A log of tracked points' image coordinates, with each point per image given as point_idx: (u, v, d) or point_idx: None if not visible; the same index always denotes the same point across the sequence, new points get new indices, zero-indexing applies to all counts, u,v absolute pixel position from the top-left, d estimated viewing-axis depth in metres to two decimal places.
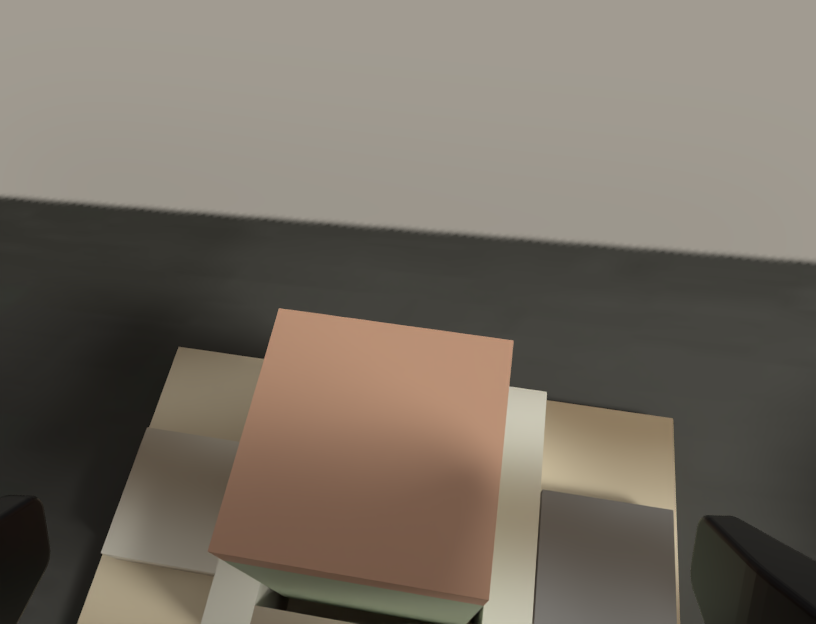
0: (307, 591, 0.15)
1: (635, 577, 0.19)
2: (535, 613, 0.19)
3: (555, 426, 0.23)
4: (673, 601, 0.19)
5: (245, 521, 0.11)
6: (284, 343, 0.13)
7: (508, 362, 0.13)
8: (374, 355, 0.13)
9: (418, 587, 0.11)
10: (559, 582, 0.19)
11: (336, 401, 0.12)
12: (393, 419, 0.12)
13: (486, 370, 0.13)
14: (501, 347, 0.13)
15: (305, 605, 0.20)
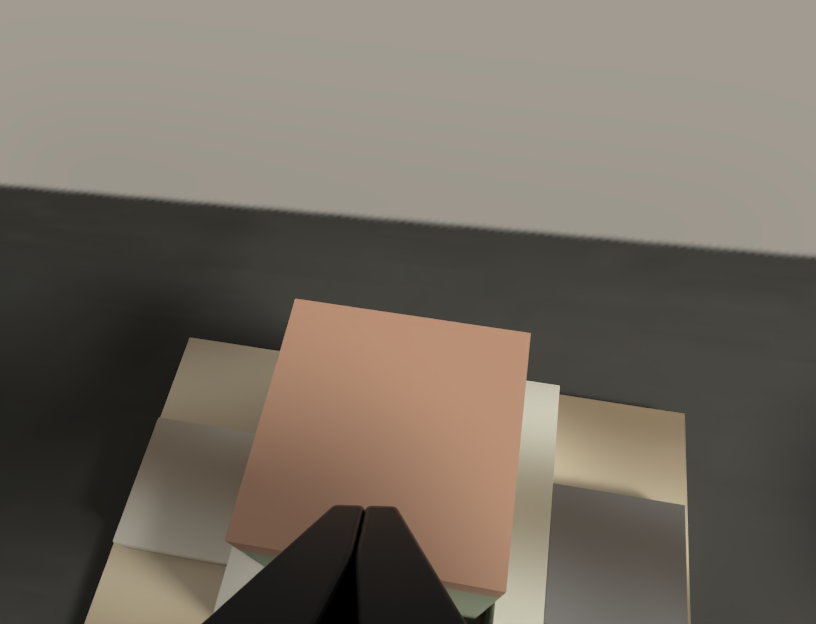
0: None
1: (646, 572, 0.19)
2: (545, 606, 0.19)
3: (566, 420, 0.23)
4: (684, 596, 0.19)
5: (262, 511, 0.11)
6: (300, 333, 0.13)
7: (525, 355, 0.13)
8: (391, 346, 0.13)
9: None
10: (570, 576, 0.19)
11: (353, 392, 0.12)
12: (410, 410, 0.12)
13: (503, 362, 0.13)
14: (518, 339, 0.13)
15: None
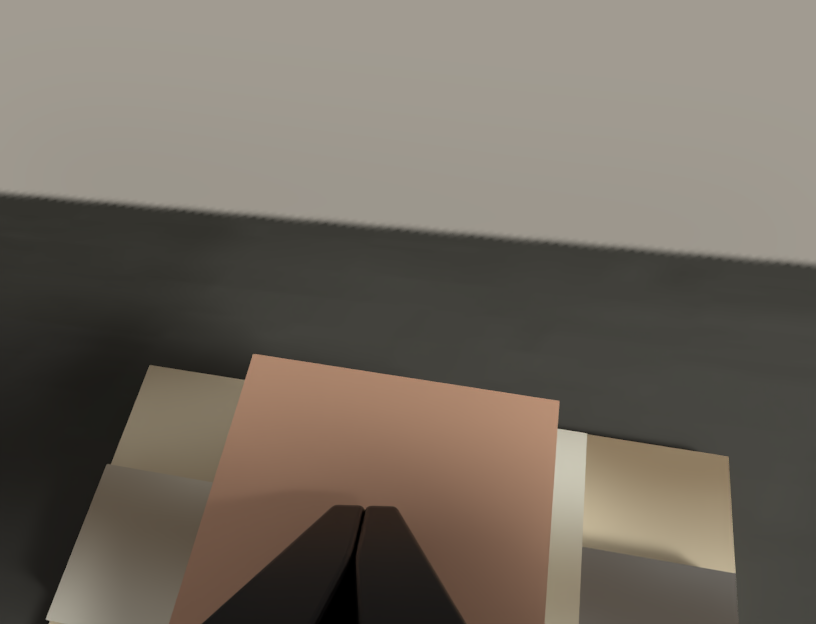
0: None
1: None
2: None
3: (589, 464, 0.19)
4: None
5: None
6: (259, 401, 0.10)
7: (553, 431, 0.10)
8: (376, 418, 0.10)
9: None
10: None
11: (325, 483, 0.09)
12: (401, 510, 0.09)
13: (524, 442, 0.10)
14: (543, 410, 0.10)
15: None
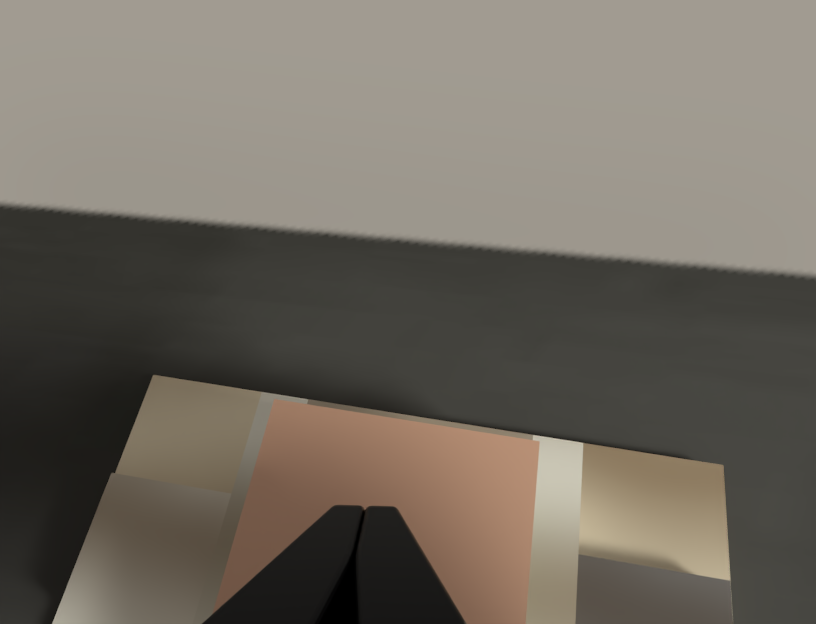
0: None
1: None
2: None
3: (586, 473, 0.20)
4: None
5: None
6: (279, 441, 0.12)
7: (534, 468, 0.11)
8: (381, 456, 0.11)
9: None
10: None
11: None
12: None
13: (509, 477, 0.11)
14: (526, 449, 0.11)
15: None
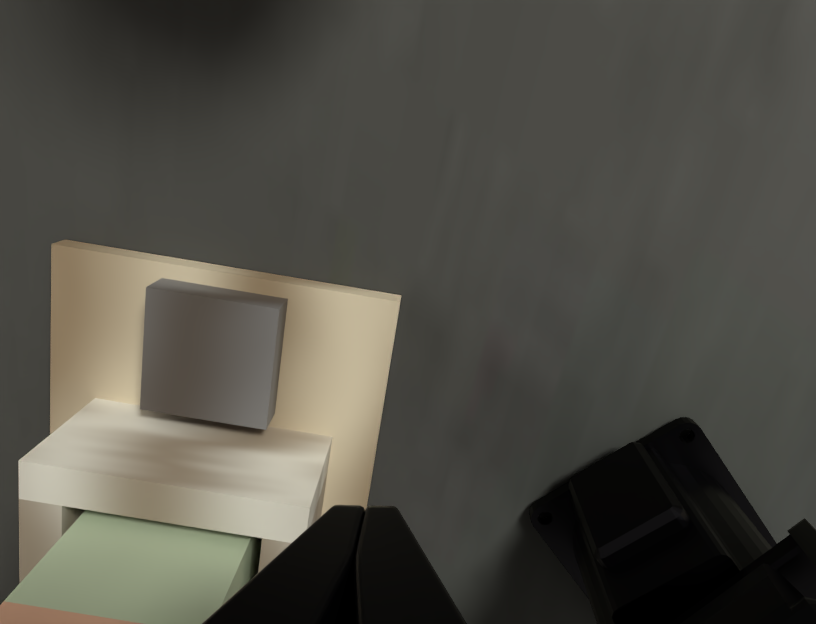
0: None
1: (214, 335, 0.20)
2: (252, 427, 0.21)
3: (78, 367, 0.22)
4: (233, 305, 0.19)
5: None
6: None
7: None
8: None
9: None
10: (224, 404, 0.20)
11: None
12: None
13: None
14: None
15: None
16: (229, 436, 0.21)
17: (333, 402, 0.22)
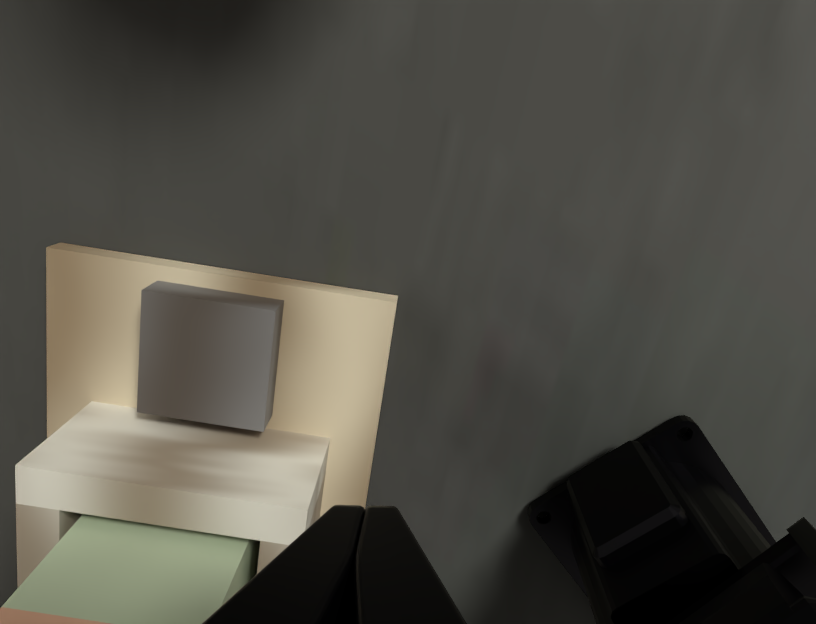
0: None
1: (210, 337, 0.20)
2: (250, 429, 0.21)
3: (74, 371, 0.21)
4: (229, 307, 0.19)
5: None
6: None
7: None
8: None
9: None
10: (221, 406, 0.20)
11: None
12: None
13: None
14: None
15: None
16: (226, 438, 0.21)
17: (330, 403, 0.22)
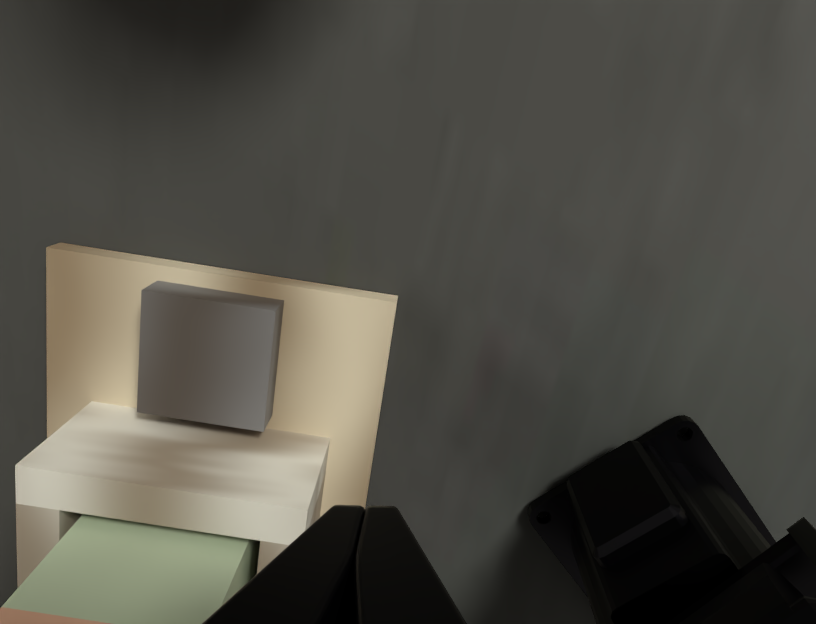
0: None
1: (210, 337, 0.20)
2: (250, 429, 0.21)
3: (74, 371, 0.21)
4: (229, 307, 0.19)
5: None
6: None
7: None
8: None
9: None
10: (221, 406, 0.20)
11: None
12: None
13: None
14: None
15: None
16: (226, 438, 0.21)
17: (330, 403, 0.22)
